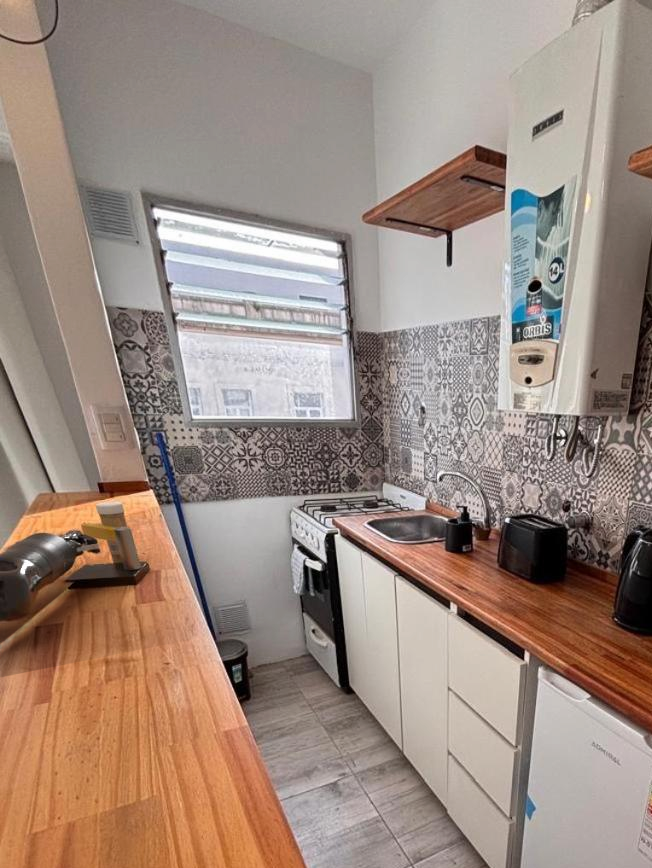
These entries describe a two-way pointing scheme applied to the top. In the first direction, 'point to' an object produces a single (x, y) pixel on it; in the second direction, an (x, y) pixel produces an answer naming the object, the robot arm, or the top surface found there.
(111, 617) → the top surface
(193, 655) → the top surface
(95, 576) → the stove plate
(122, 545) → the gas tap
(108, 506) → the sprinkles bottle
